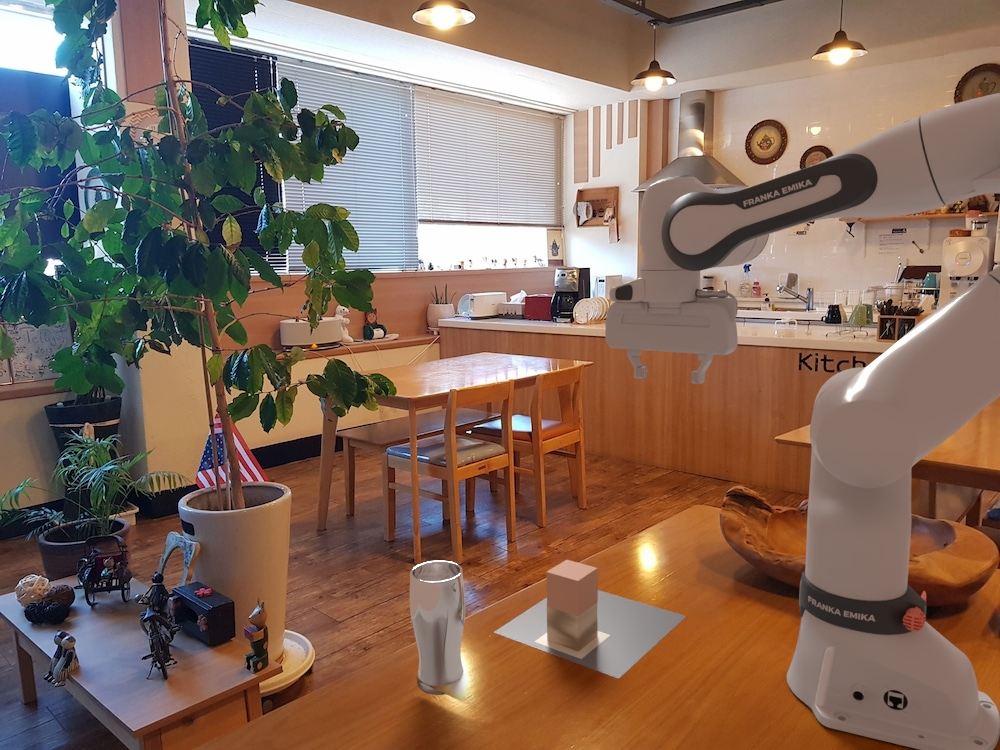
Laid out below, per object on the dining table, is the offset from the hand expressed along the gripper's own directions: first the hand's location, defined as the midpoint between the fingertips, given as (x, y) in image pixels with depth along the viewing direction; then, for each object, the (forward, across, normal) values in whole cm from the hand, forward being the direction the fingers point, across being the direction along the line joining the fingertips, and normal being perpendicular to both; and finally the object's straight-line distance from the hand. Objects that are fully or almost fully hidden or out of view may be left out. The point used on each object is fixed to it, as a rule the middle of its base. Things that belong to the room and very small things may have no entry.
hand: (668, 380), depth 114 cm
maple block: (+33, +3, +23) cm, 40 cm away
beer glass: (+34, +12, +40) cm, 54 cm away
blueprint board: (+34, +3, +18) cm, 39 cm away
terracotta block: (+28, +3, +23) cm, 36 cm away
